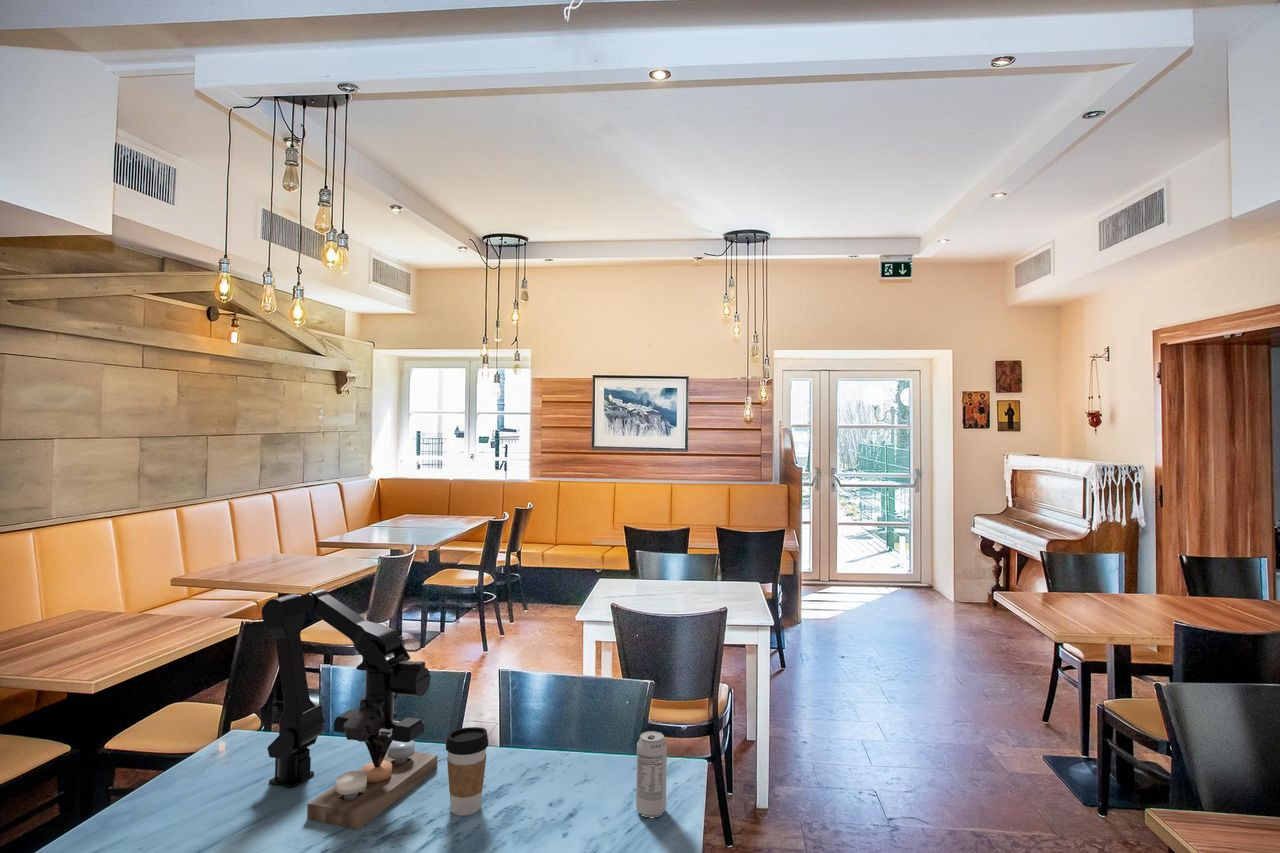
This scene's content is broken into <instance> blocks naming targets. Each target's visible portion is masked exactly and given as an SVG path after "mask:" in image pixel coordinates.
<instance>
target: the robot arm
mask: <svg viewBox="0 0 1280 853" xmlns="http://www.w3.org/2000/svg"><path fill="white" fill-rule="evenodd" d="M306 612H311V613H312V614H313V615H315V616H317V617H318V618H319V619H321V620H322V621H324V622H325V623H327V624H328V625H329V626H331V627H332V628H334V629H335V630H336V631H337V632H339V633H341V634H342V635H343V636H345V637H346V638H348V639H349V640H350V641H351V642H352V643H353V646H354V649H355V651H356V652H357V653H358V654H359V655H360V656H361V657H362V659H363V660H362V662H360V663H359V664H358V665H357V666H356V670H357V671H365V685H364V687H365V689H364V690H365V695H364V697H363V698H362V699H360V702H359V707H358V709H353V708H352V709H351V708H350V709H349V710H347V711H345V712H343V713H340V714H339V715H338V716H336V717H335V719H334V721H333V723H332V724H333V726H332V728H333V729H332V731H333V732H335V733H342V734H344V733H345V738H346V740H348V741H357V742H361V743H362V742H363V743H365V745H366V749H367V750H368V753H369V756H370V759H371V761H372V762H373V764H374V767H379V766H381V764H382V761H383V759H384V757H385V755H386V753H387V751H388V748H389V746H390V744H391V742H393V741H398V742H405V743H406V742H410V741H412V740H413V741H414V740H415V739H416V738H418V737H419V736H420V735H422V734H424V733H425V722H424V721H423V720H422V719H421V718H414V717H408V716H407V717H406V718H404V719H402V720H400V721H398V720H395V719H396V718H398V711H397V712H396V711H394V710H395V709H394V708H395V706H394V705H395V704H394V703H395V700H396V699H398V697H399V696H398V695H401V696H403V695H404V696H411V697H423V696H425V695H426V693H427V692H428V689H429V687H430V684H431V678H432V677H431V674H430V671H429V668H427V667H426V662H425V661H420V660H419V661H413V660H411V661H410V659H411V656H410V654H409V652H408V651H407V649H406V648H405V646H404V645H403V643H402V641H401V640H400V639H401V638H400V634H399V632H398V631H396V630H395V629H394V628H391V627H389V626H387V625H385V624H383V623H377V622H372V621H369V620H367V619H366V618H364V617H363V616H361V615H360V614H358V613H357V612H355V611H353V610H352V609H350V608H349V607H348V606H347V605H345V604H343V603H342V602H341V601H339V600H338V599H337V598H336V597H333V596H332V595H330V593H329V592H328V591H327V590H326V589H322V588H319V589H316V590H312V591H310V592H306V593H304V594H303V595H298V594H296V593H291V594H287V595H286V594H285V595H283V596H279V597H278V596H277V597H275V598H271V599H269V600H267V601H266V602H265V603H264V605H263V606H262V608H261V617H262V621H263V623H264V624H263V625H264V627H265V628H264V629H265V630H266V632H267V633H268V634H269V635H270V637H272V638H273V639H274V641H275V648H276V655H277V656H276V657H277V662H278V664H277V665H278V670H279V677H280V684H281V690H282V697H283V705H284V706H283V710H282V712H281V716H280V719H279V722H278V729H279V730H278V736H277V737H276V738H275V739H274V740H273V741H272V742H271V743H270V744H269V745H268V746H267V748H266V749H267V752H268V756H269V758H273V759H275V761H274V762H275V763H274V764H275V765H274V777H273V778H271V779H269V781H268V784H271V785H277V786H282V787H288V788H294V787H296V786H298V785H299V784H301V783H303V782H304V781H306V780H307V779H309V778H311V777H313V776H314V775H315V771H312V770H311V763H312V757H311V756H310V754H311V748H308V747H310V746H312V745H315V744H316V741H317V739H318V737H319V736H320V735H321V733H322V731H323V729H324V725H323V724H324V723H325V722H326V720H325V719H324V717H323V716H324V714H323V706H322V705H321V704H317V705H316V704H315V703H314V702H313V700H311V697H310V692H309V685H308V684H309V683H308V679H307V672H306V664H305V659H304V658H305V657H304V652H303V645H302V637H301V634H302V633H301V632H302V630H303V627H304V625H305V621H306ZM393 655H394V656H393ZM392 656H393V657H392ZM389 657H391V658H389ZM387 658H389V659H387Z"/></svg>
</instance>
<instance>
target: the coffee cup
mask: <svg viewBox="0 0 1280 853" xmlns="http://www.w3.org/2000/svg"><path fill="white" fill-rule="evenodd" d="M488 737H489V736H488V730H487V729H486V728H483V727H477V726H475V727H474V726H472V727H469V726H468V727H461V728H457V729H454V730H452V731H450V732H449V733H448V734H447V738H446V742H445V750H446V751H447V758H446V759H447V760H446V761H447V776H448V788H449V803H450V804H449V805H450V812H451V813H452V814H453V815H456V816H461V817H463V816H470V815H473V814H475V813H477V812H478V811H479V810H480V809H481V806H482V799H483V798H482V796H483V789H484V788H483V787H484V780H485V771H486V763H487V762H486V761H487V748H488V747H489V738H488Z"/></svg>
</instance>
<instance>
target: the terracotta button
mask: <svg viewBox="0 0 1280 853" xmlns="http://www.w3.org/2000/svg"><path fill="white" fill-rule="evenodd" d="M370 762H371V761H370ZM370 762H368V763H367V764H365V765H364V766H363V767H364V768H363V772H365V773H366V774H367V782H370V783H375V782H381V781H384V780H387V779H388V778H390V777H391V775H392V763H391V762H389V761H385V760H383V761H382V764H381V766H379V767H374V764H373V762H371V763H370Z"/></svg>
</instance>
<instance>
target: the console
mask: <svg viewBox="0 0 1280 853" xmlns="http://www.w3.org/2000/svg"><path fill="white" fill-rule="evenodd" d="M383 760H385V761H389V762H391V763H392V775H391V777H390V778H388V779H387V780H384V781H381V782H375V783H370V782H367V786H366V788H365V789H364V790H362V791H360V792H358V798H357V799H355V800H354V801H348V800H344V795H343V794H339V793H337V792H336V784H335V785H333V786H332V787H330V788H329V789H327V790H325V791H324V792H323V793H322V794H320V795H318V796H316V797H315V798H314V799H312V800H310V801H309V802H308V803H307V810H306V812H307V814H306V816H307V817H306V819H307V820H309V819H311V820H310V821H314V820H315V821H314V822H320V823H324V824H330V825H334V826H339V825H340V826H339V827H344V826H345V828H349V827H350V828H349V829H354V828H356V829H355V830H361V829H362V828H363V827H365V826H366V825H367V824H369V821H370V820H371V821H372V820H374V819H375V818H376V817H377V816H379V815H380V814H381V813H382V812H384V811H385V810H386V809H388V807H390V806H392V805H393V804H394V803H395V802H396V801H398V800H399V799H400V798H401V797H402V796H404V795H406V794H407V793H408V792H409V791H410V790H412V789H413V788H414V787H415V786H417V785H418V784H420V783H421V782H422V781H424V780H425V779H426V778H427V777H428V776H430V775H431V774H432V773H434V772H435V771H436V770H437V769H438V754H433V753H427V752H419V751H416V750H414V754H413V755H412V756H410V757H408V758H407V763H405V764H404V765H398V764H395V759H391V758H389V757H388V751H387V753H386V755H385V757H384V759H383ZM371 762H372V760H371V761H370V762H369V763H371ZM363 768H364V766H362V767H361V768H359V769H358V770H357V771H363ZM378 814H379V815H378ZM374 817H375V818H374ZM371 821H370V822H371ZM366 823H367V824H366ZM365 824H366V825H365ZM364 825H365V826H364ZM361 827H362V828H361ZM360 828H361V829H360Z"/></svg>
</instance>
